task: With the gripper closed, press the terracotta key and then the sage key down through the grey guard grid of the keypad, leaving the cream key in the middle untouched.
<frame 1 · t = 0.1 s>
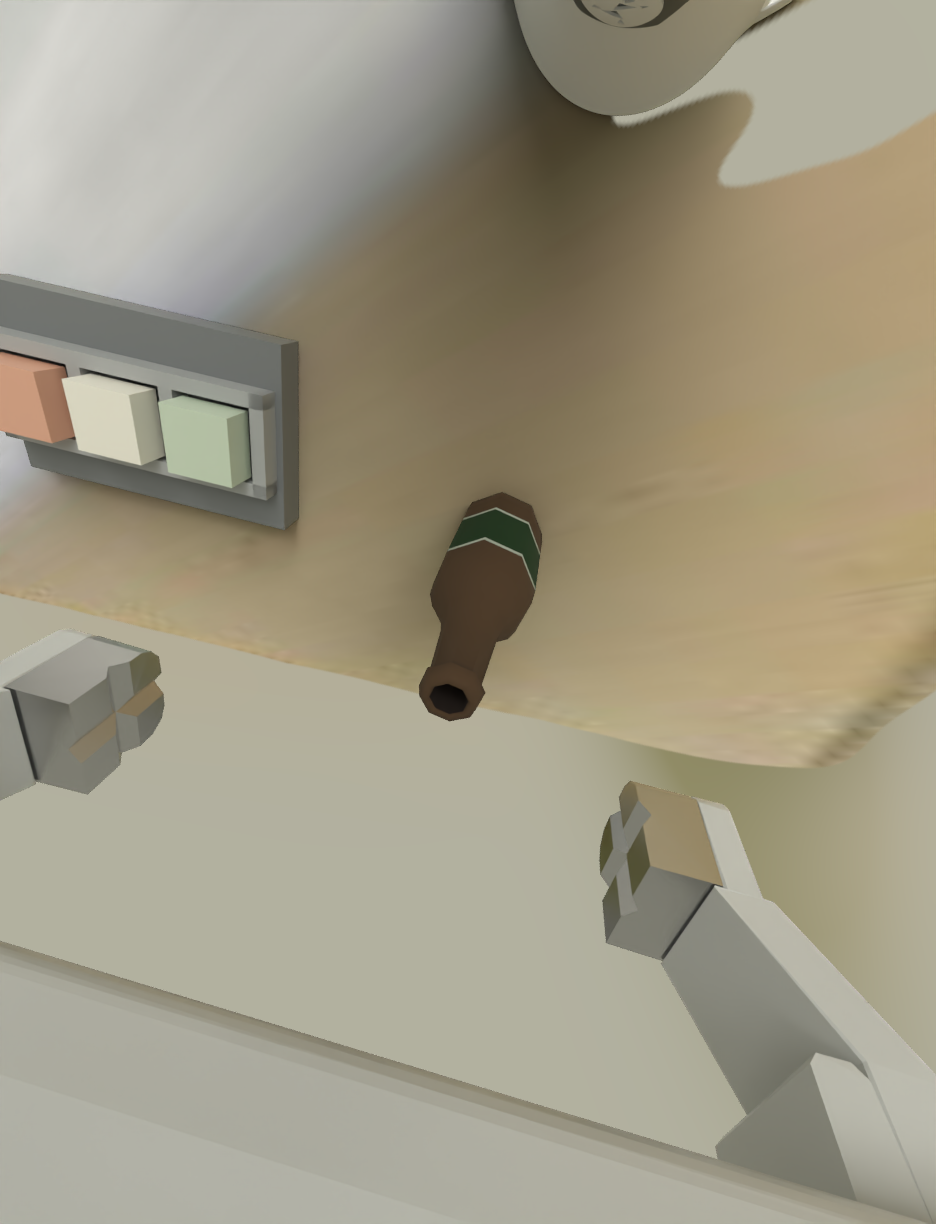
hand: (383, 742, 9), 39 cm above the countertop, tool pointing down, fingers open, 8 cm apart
cream key: (116, 419, 43), point 6 cm above the countertop, slide at 0.0 cm
keypad: (164, 405, 48), on the countertop
beer bottle: (501, 529, 48), on the countertop
terracotta key: (27, 397, 43), point 6 cm above the countertop, slide at 0.0 cm
sage key: (207, 441, 42), point 6 cm above the countertop, slide at 0.0 cm
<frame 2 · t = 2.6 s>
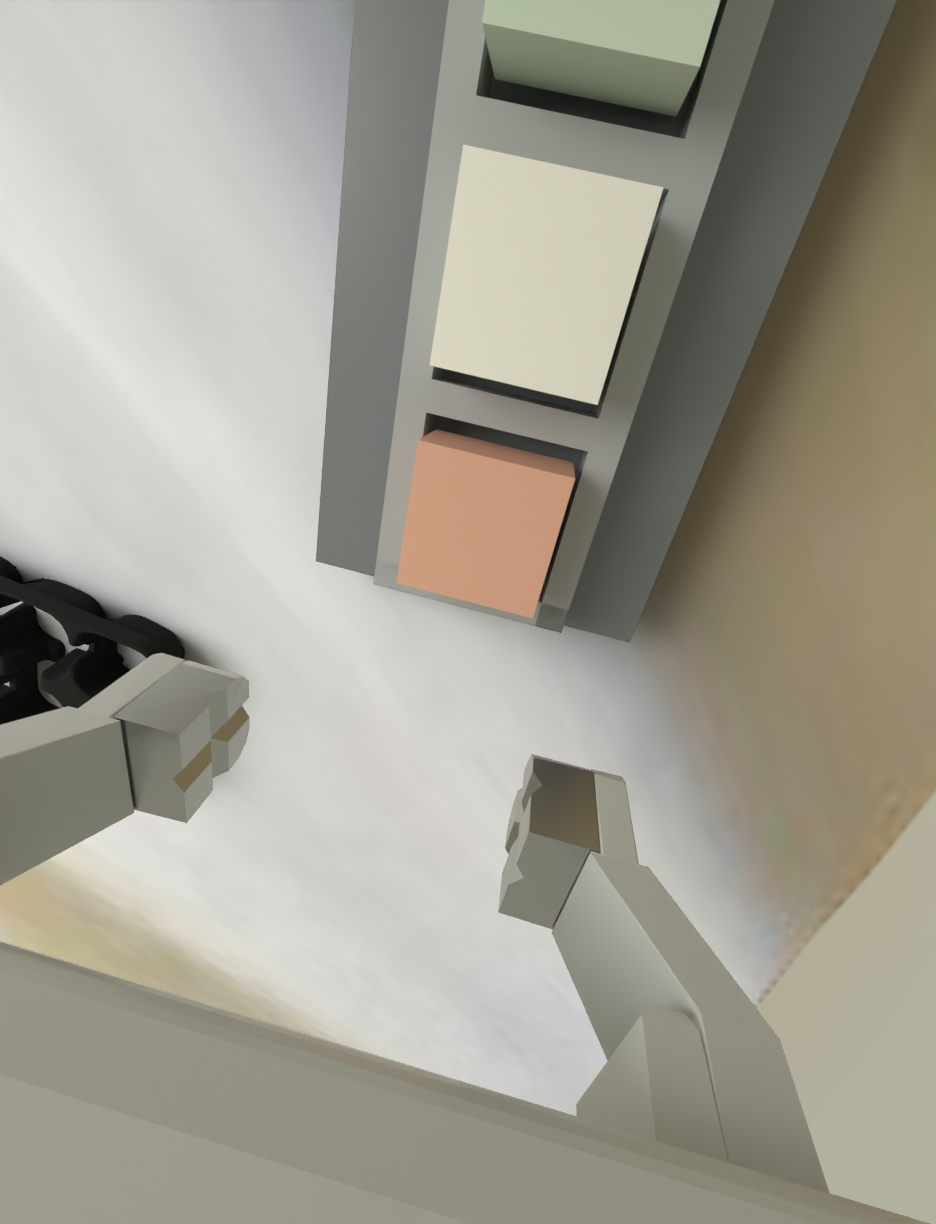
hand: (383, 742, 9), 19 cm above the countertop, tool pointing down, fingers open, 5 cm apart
cream key: (537, 290, 17), point 6 cm above the countertop, slide at 0.0 cm
keypad: (542, 306, 22), on the countertop
terracotta key: (484, 523, 20), point 6 cm above the countertop, slide at 0.0 cm
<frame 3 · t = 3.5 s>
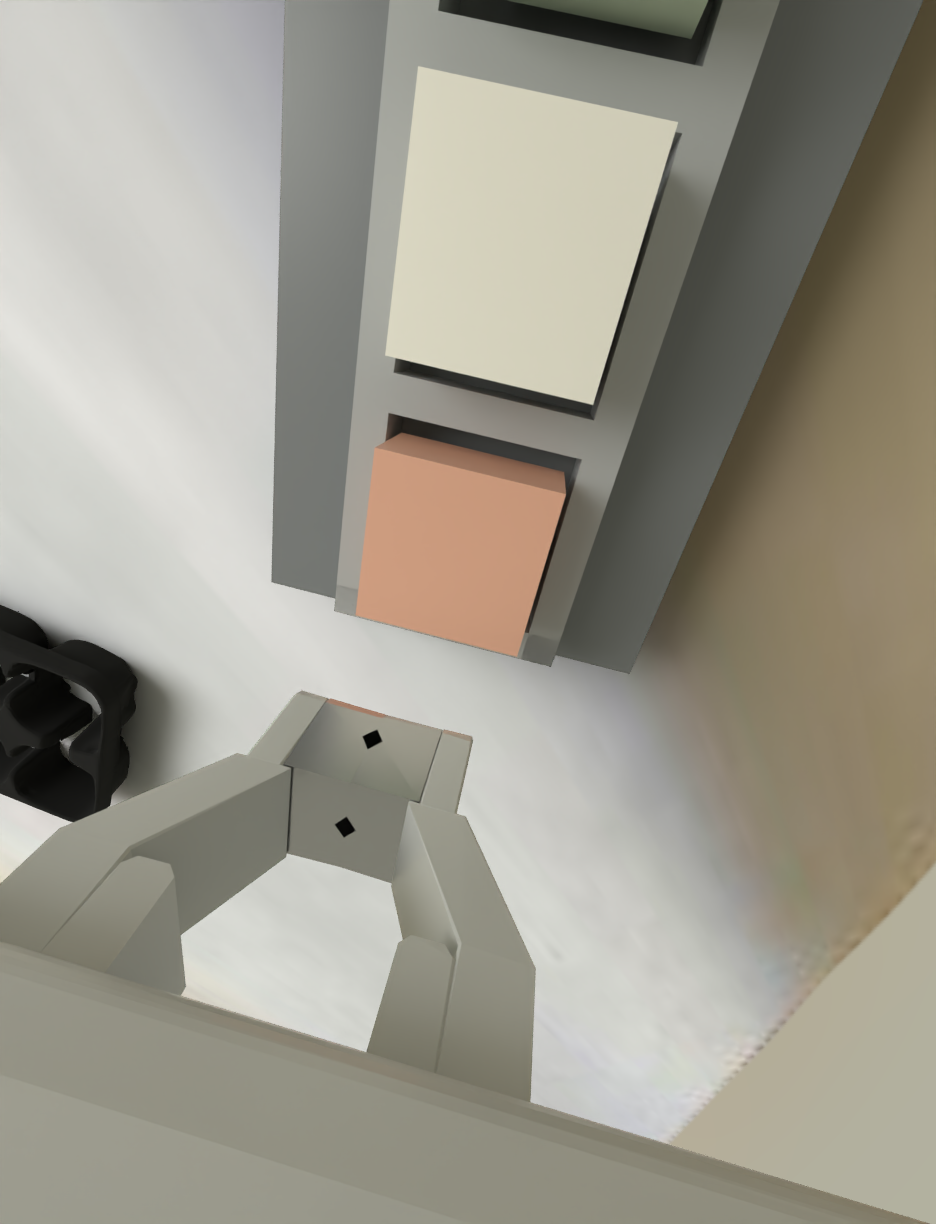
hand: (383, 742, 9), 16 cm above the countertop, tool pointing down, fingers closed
cream key: (518, 262, 13), point 6 cm above the countertop, slide at 0.0 cm
keypad: (528, 286, 19), on the countertop
terracotta key: (459, 544, 17), point 6 cm above the countertop, slide at 0.0 cm
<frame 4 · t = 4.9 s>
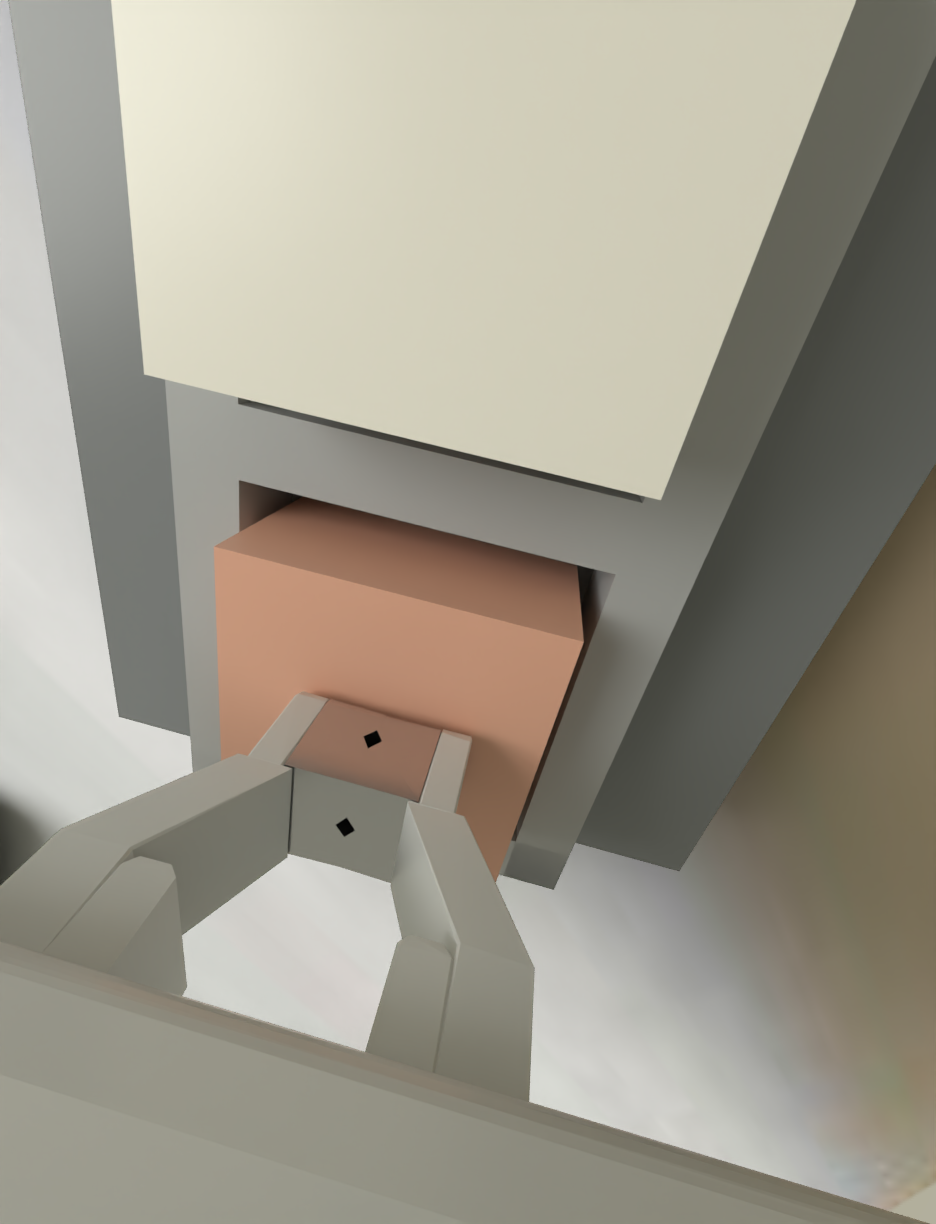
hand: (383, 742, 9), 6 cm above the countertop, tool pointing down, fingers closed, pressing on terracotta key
cream key: (472, 141, 5), point 6 cm above the countertop, slide at 0.0 cm
keypad: (515, 246, 11), on the countertop
terracotta key: (397, 686, 10), point 5 cm above the countertop, slide at 1.1 cm, touching gripper
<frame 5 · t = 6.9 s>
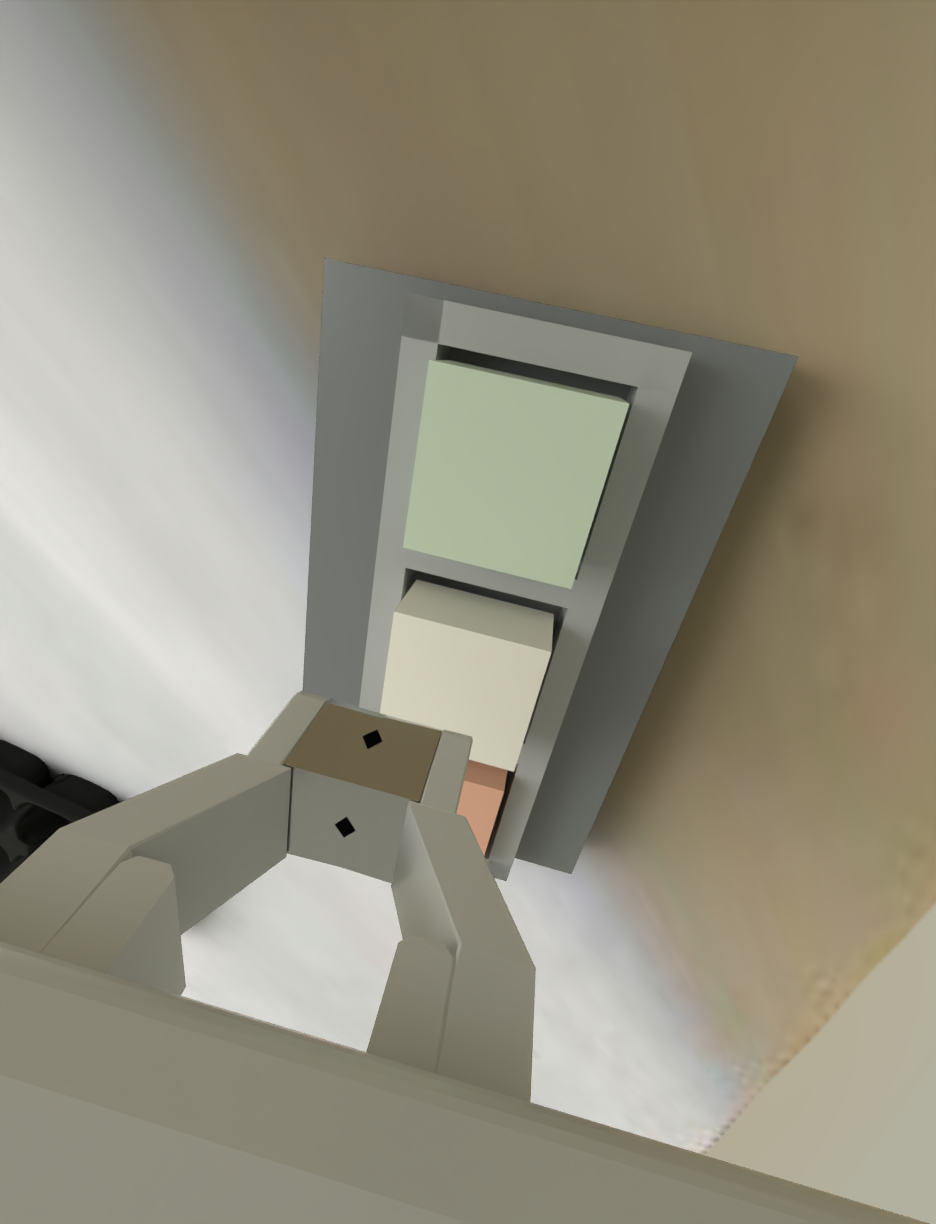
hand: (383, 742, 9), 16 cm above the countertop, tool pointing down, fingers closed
cream key: (464, 674, 20), point 6 cm above the countertop, slide at 0.0 cm
keypad: (486, 609, 26), on the countertop
egg carton: (23, 788, 40), on the countertop
terracotta key: (439, 793, 25), point 5 cm above the countertop, slide at 1.3 cm
sage key: (510, 473, 17), point 6 cm above the countertop, slide at 0.0 cm
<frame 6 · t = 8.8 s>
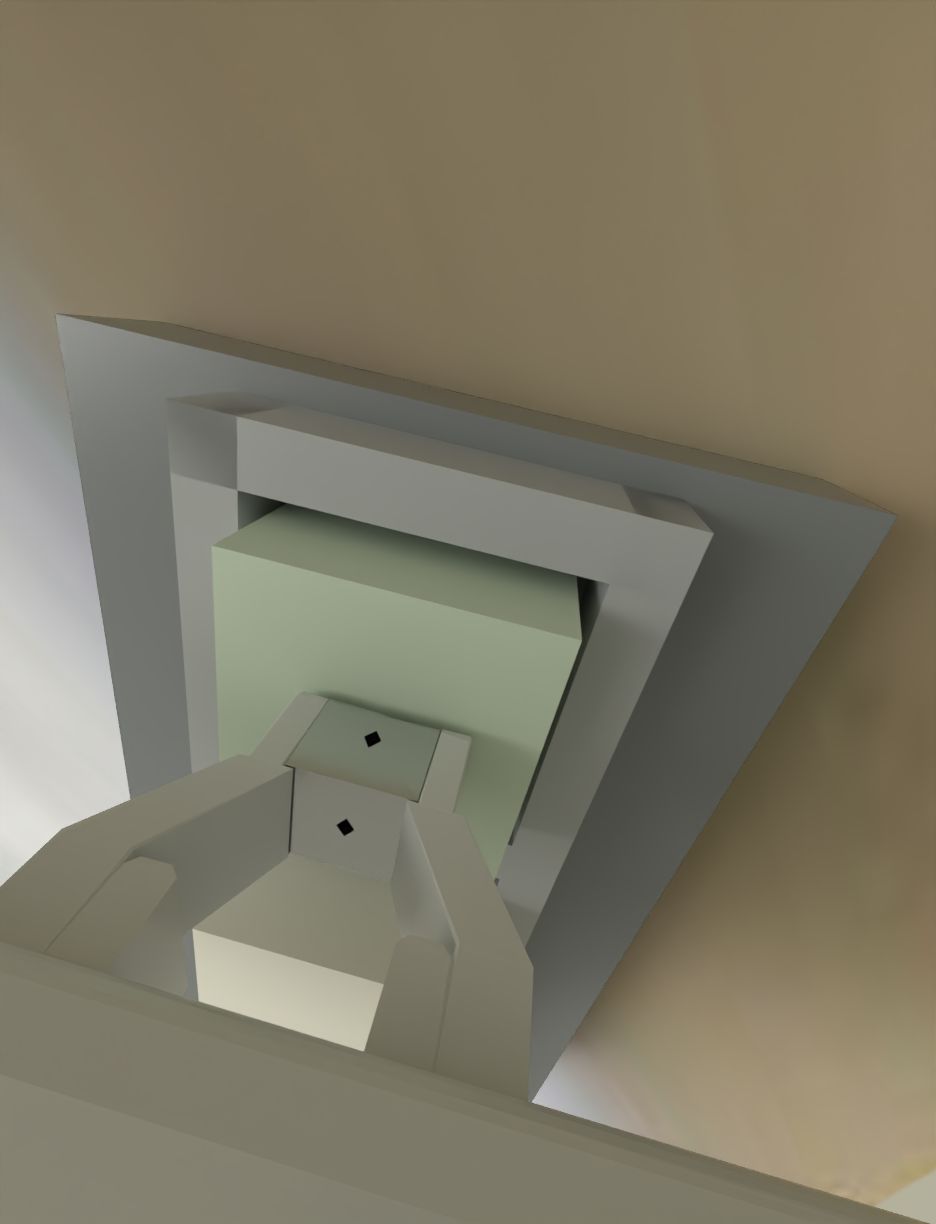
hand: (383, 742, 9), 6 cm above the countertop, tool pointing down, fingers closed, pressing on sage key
cream key: (341, 964, 13), point 6 cm above the countertop, slide at 0.0 cm
keypad: (403, 786, 18), on the countertop
sage key: (396, 685, 10), point 5 cm above the countertop, slide at 1.1 cm, touching gripper
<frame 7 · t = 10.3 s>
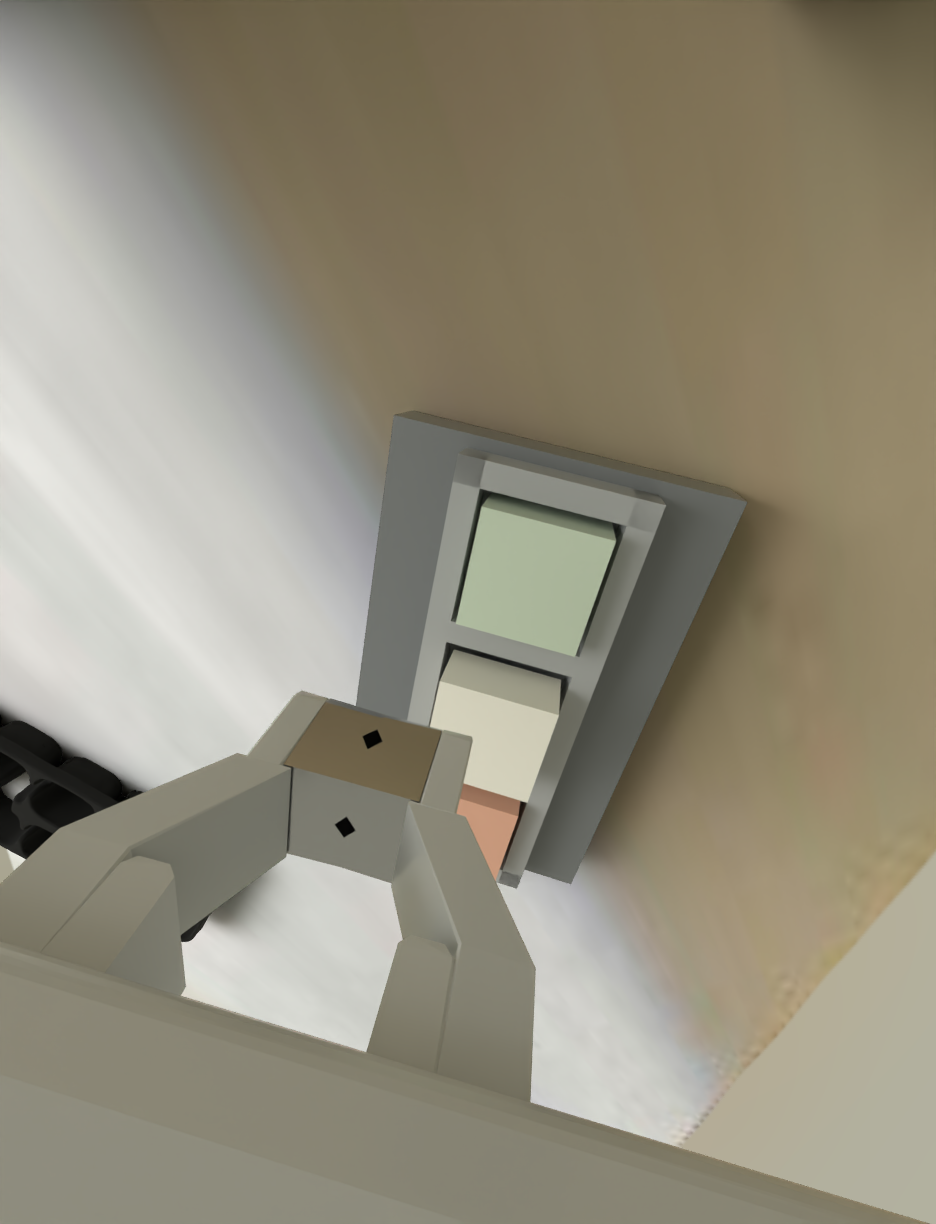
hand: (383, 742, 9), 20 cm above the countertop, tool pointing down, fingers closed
cream key: (490, 725, 26), point 6 cm above the countertop, slide at 0.0 cm
keypad: (505, 664, 31), on the countertop
egg carton: (93, 798, 46), on the countertop
terracotta key: (463, 815, 31), point 5 cm above the countertop, slide at 1.3 cm
sage key: (533, 573, 23), point 5 cm above the countertop, slide at 1.3 cm
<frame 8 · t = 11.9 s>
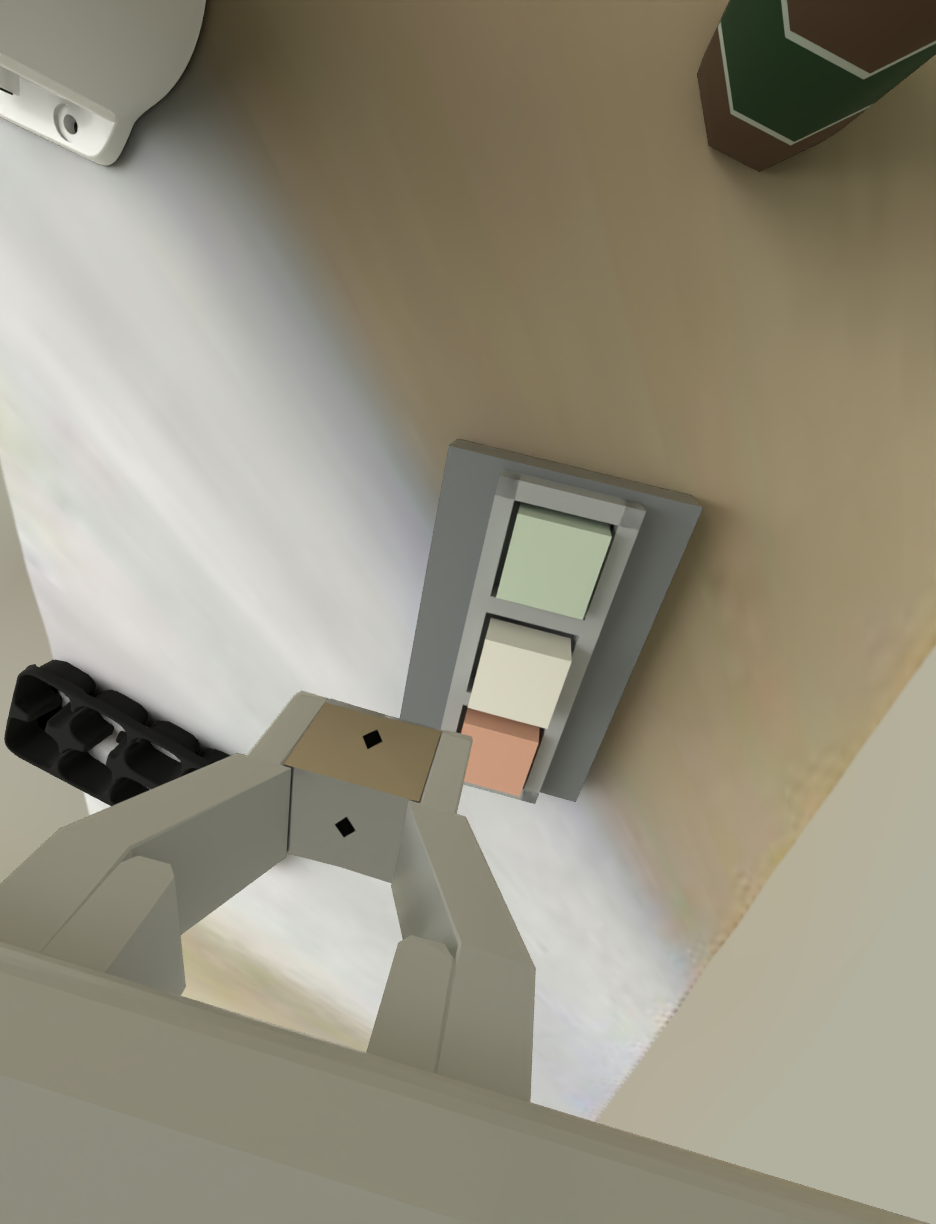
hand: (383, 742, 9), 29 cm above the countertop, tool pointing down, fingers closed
cream key: (518, 673, 35), point 6 cm above the countertop, slide at 0.0 cm
keypad: (524, 631, 40), on the countertop
beer bottle: (775, 75, 25), on the countertop
egg carton: (169, 756, 54), on the countertop
terracotta key: (494, 747, 40), point 5 cm above the countertop, slide at 1.3 cm
sage key: (551, 559, 32), point 5 cm above the countertop, slide at 1.3 cm
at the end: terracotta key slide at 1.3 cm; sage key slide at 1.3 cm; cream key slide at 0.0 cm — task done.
